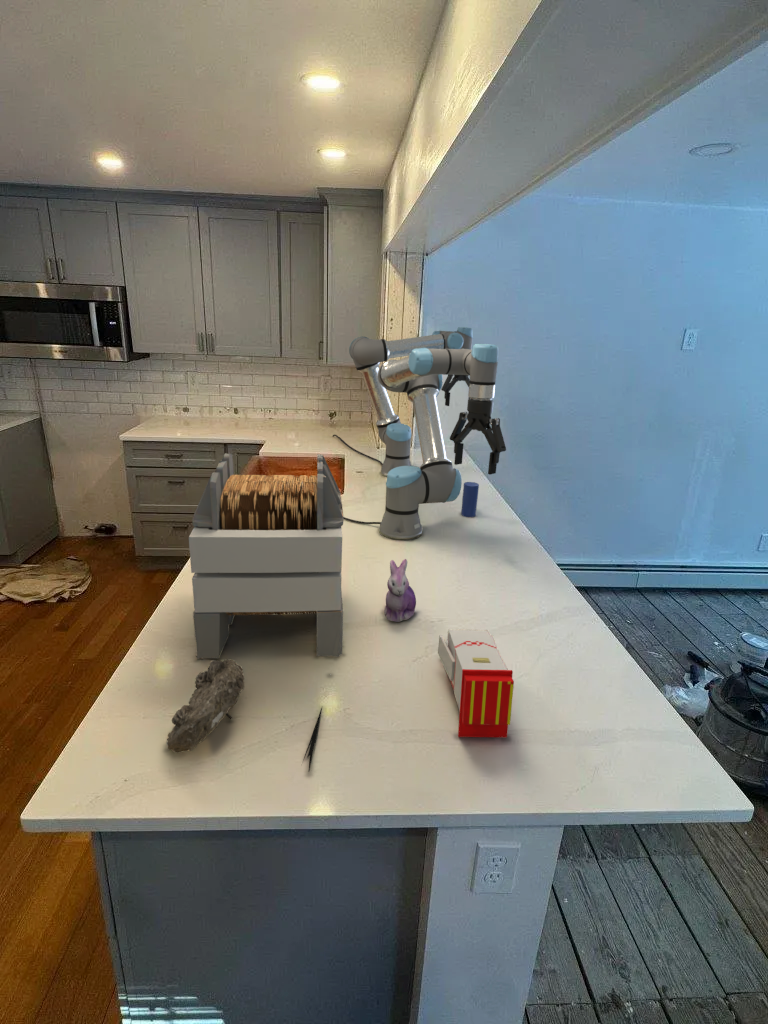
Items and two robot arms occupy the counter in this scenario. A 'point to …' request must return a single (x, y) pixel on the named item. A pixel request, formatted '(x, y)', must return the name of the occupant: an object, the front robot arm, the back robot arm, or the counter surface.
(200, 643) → the transformer
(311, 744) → the feather
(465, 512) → the can
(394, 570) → the figurine
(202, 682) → the fossil
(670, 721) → the counter surface
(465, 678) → the toy
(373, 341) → the back robot arm
